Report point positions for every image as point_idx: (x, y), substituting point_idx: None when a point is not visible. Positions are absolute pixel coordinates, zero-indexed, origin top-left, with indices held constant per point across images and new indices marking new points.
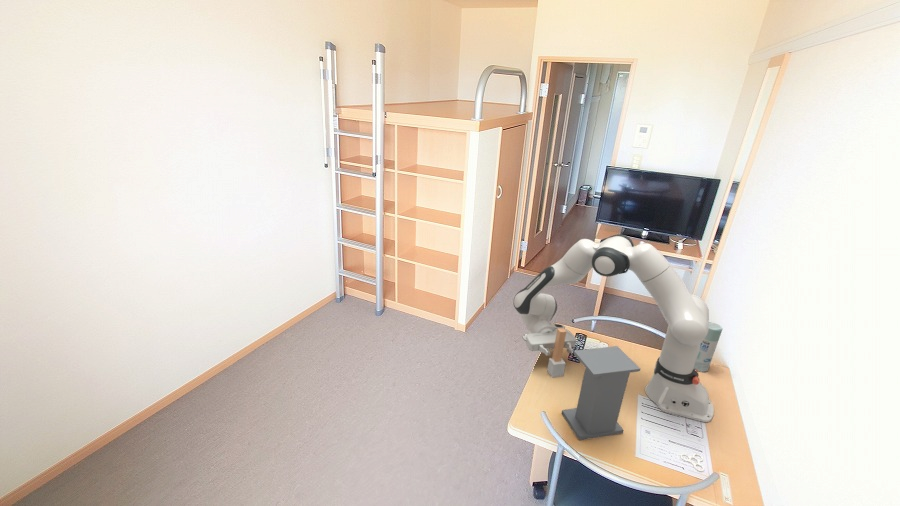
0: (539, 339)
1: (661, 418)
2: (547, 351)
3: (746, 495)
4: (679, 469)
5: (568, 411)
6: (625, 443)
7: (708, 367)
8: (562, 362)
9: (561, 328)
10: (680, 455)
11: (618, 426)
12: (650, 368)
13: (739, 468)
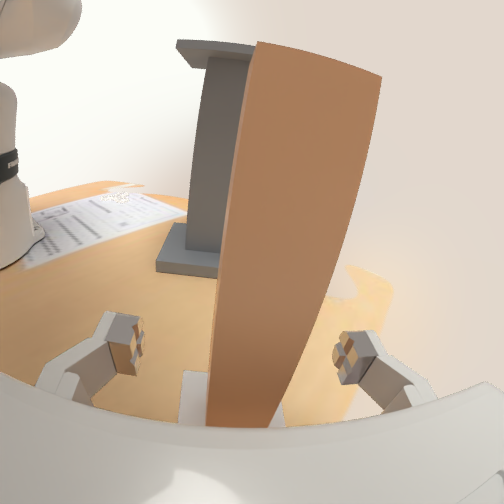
0: (461, 457)
1: (67, 229)
2: (368, 333)
3: (114, 182)
4: (148, 198)
5: None
6: None
7: None
8: (202, 382)
9: (301, 51)
10: (125, 201)
11: (177, 226)
12: None
13: (81, 189)
